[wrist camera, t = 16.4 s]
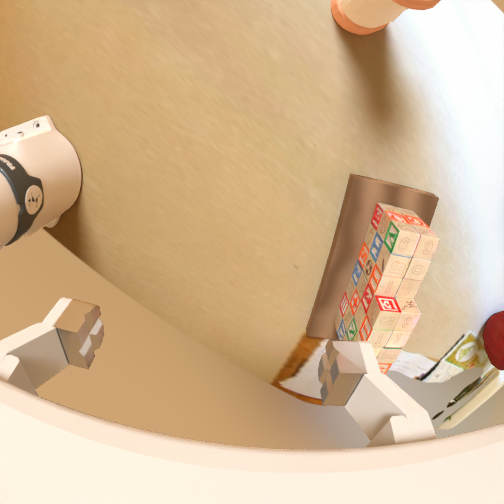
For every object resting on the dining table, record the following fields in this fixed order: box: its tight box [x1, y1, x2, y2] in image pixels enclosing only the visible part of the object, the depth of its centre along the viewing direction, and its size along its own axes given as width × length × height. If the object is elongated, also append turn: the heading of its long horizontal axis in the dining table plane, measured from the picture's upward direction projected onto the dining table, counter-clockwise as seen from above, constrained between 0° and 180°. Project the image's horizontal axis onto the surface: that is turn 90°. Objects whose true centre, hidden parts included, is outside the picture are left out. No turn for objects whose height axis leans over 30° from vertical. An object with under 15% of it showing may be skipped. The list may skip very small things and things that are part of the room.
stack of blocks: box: [334, 203, 440, 374], centre depth 41 cm, size 21×6×12 cm, turn 171°
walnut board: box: [306, 174, 439, 339], centre depth 48 cm, size 14×28×2 cm, turn 172°
